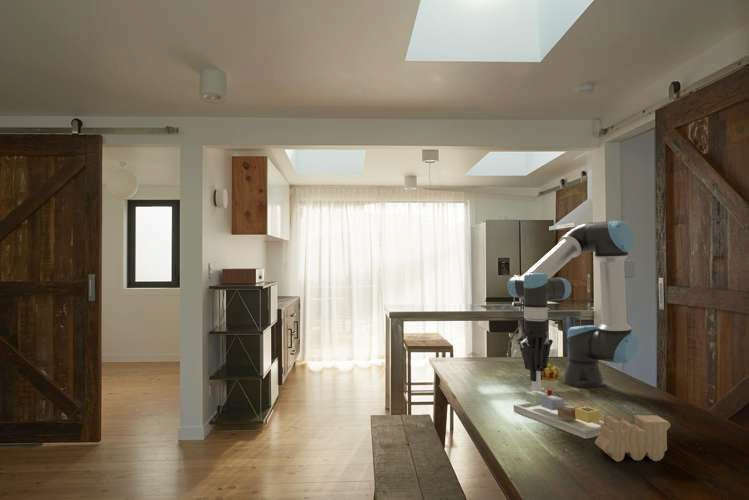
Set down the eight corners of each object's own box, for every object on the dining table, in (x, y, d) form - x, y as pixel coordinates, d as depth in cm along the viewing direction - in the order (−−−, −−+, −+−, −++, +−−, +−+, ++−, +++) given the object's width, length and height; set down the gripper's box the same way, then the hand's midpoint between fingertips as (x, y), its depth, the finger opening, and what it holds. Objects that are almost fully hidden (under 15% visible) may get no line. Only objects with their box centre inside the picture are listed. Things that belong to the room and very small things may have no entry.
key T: (569, 414, 164) (569, 403, 164) (581, 418, 160) (581, 407, 160) (557, 416, 162) (557, 405, 162) (569, 420, 158) (569, 410, 158)
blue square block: (552, 404, 171) (552, 394, 171) (563, 408, 166) (563, 398, 166) (541, 406, 169) (541, 396, 169) (552, 410, 164) (552, 400, 164)
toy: (561, 405, 181) (561, 361, 182) (540, 404, 183) (539, 361, 183) (558, 399, 188) (558, 357, 189) (537, 398, 190) (537, 357, 190)
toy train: (595, 453, 137) (594, 415, 138) (658, 452, 138) (658, 414, 138) (604, 462, 132) (604, 422, 132) (671, 460, 132) (670, 421, 132)
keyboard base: (540, 406, 180) (540, 400, 180) (614, 432, 154) (614, 425, 154) (513, 410, 175) (513, 404, 175) (585, 438, 148) (585, 431, 148)
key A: (587, 416, 158) (586, 405, 158) (600, 420, 154) (599, 409, 154) (575, 418, 156) (575, 407, 156) (588, 423, 152) (588, 412, 152)
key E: (537, 399, 177) (537, 389, 177) (547, 402, 173) (547, 393, 173) (526, 401, 175) (526, 391, 175) (536, 404, 171) (536, 394, 171)
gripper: (542, 317, 180) (542, 386, 180) (512, 319, 175) (513, 390, 174) (558, 319, 174) (559, 390, 173) (528, 321, 168) (529, 395, 168)
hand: (536, 390), depth 174 cm, fingers closed
